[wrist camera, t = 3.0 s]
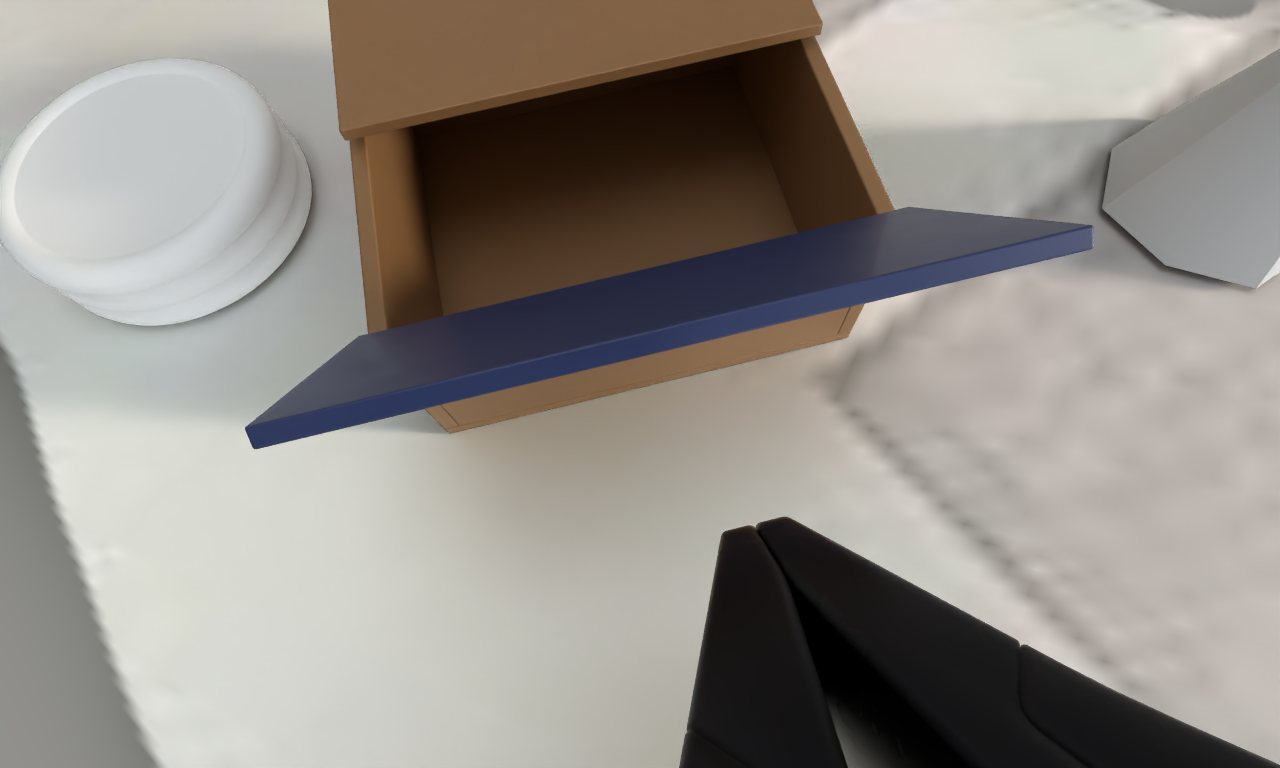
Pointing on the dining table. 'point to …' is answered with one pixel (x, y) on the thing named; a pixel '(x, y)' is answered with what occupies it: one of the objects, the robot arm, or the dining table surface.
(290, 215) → the white round disc
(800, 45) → the carton
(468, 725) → the dining table surface
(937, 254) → the flap
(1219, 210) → the flask
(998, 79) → the dining table surface
